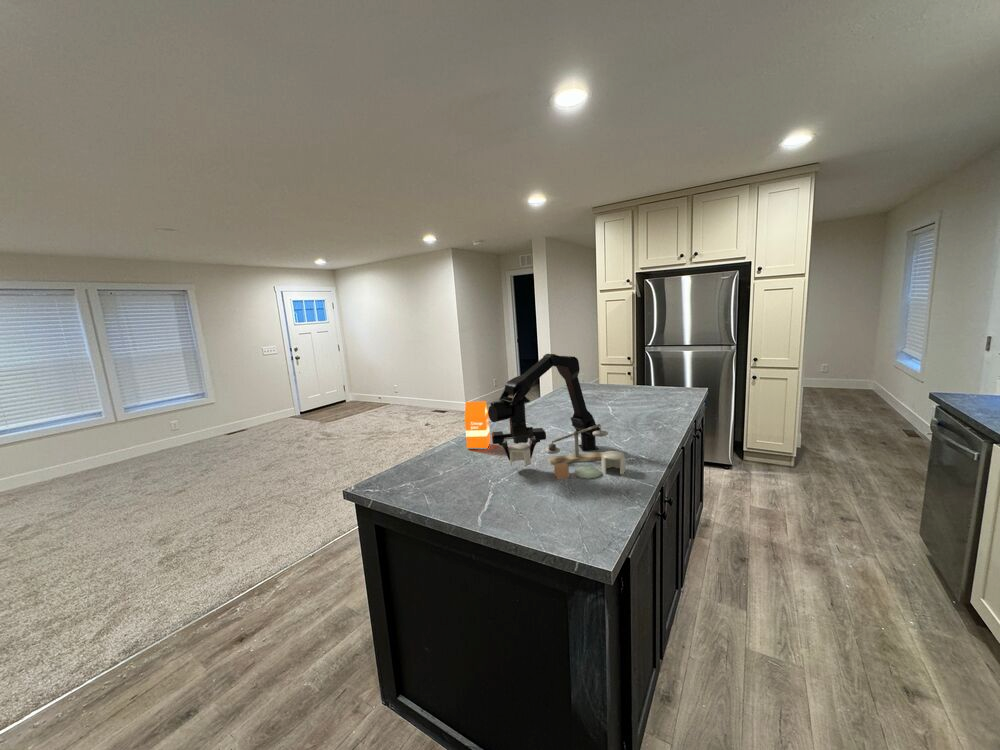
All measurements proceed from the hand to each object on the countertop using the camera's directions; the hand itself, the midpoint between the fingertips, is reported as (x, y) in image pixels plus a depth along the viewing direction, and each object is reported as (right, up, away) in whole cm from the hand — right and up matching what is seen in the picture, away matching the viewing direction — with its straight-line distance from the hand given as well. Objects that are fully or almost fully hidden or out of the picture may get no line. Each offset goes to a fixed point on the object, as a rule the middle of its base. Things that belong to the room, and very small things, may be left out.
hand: (519, 458), depth 142 cm
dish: (+23, -4, -5) cm, 24 cm away
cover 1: (0, -2, 0) cm, 2 cm away
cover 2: (+32, -3, -5) cm, 32 cm away
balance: (+22, -2, +8) cm, 23 cm away
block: (+14, -5, -6) cm, 16 cm away
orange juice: (-16, -1, +29) cm, 33 cm away
